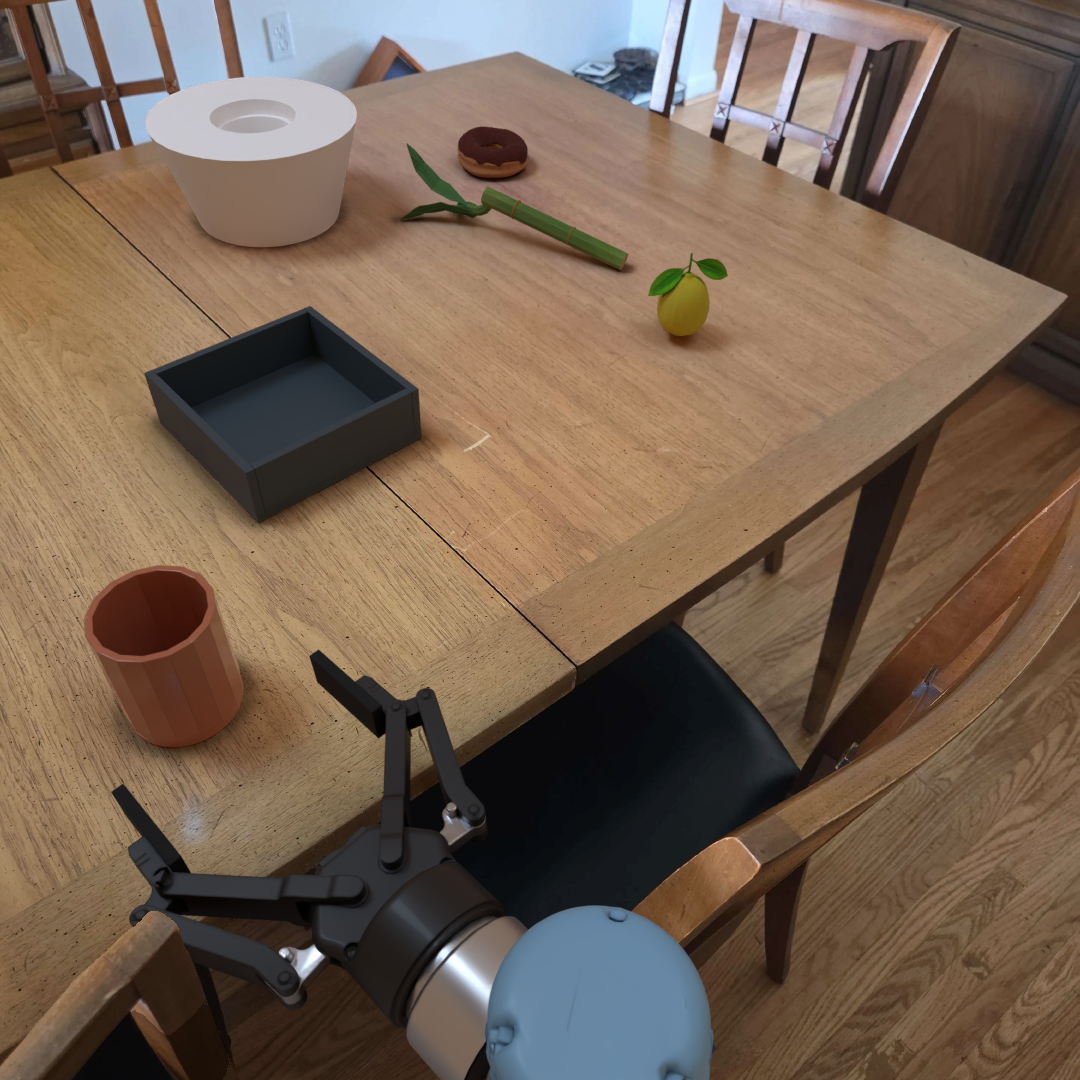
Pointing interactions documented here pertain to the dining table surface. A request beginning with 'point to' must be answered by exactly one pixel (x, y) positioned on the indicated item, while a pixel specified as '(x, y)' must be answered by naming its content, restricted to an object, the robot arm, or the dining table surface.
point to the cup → (166, 654)
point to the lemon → (685, 296)
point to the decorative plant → (512, 215)
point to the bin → (285, 410)
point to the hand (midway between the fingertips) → (226, 728)
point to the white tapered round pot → (257, 156)
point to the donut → (492, 152)
